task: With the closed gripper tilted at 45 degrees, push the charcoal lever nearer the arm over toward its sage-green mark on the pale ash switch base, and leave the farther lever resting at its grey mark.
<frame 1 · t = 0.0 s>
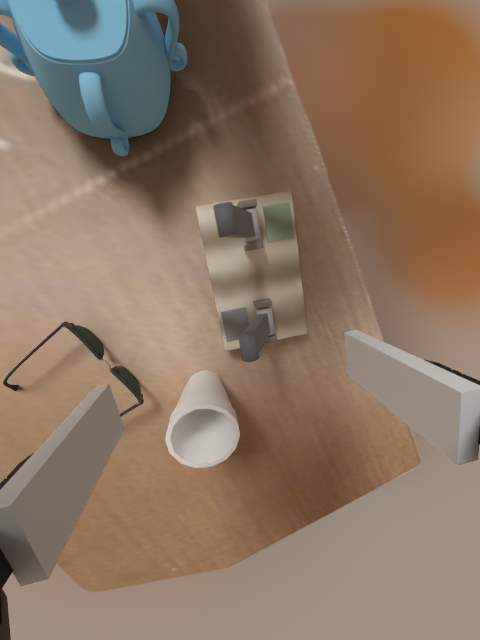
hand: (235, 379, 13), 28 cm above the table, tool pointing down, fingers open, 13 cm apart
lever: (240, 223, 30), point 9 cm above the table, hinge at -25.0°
switch base: (253, 274, 40), on the table
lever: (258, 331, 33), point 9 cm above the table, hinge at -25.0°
decorative pot: (116, 84, 32), on the table
foam cup: (204, 386, 44), on the table
sunglasses: (80, 380, 41), on the table
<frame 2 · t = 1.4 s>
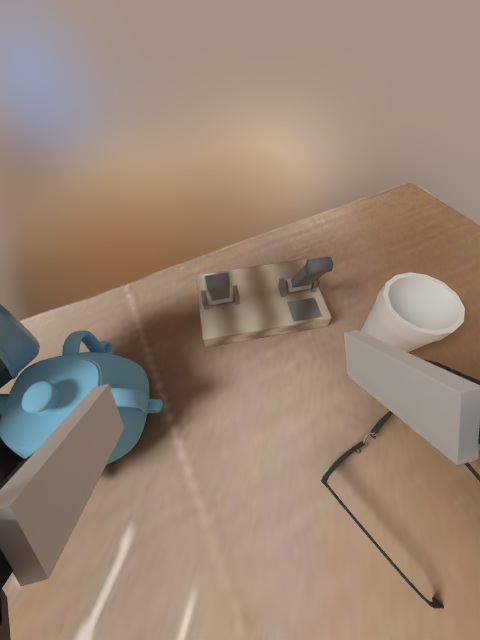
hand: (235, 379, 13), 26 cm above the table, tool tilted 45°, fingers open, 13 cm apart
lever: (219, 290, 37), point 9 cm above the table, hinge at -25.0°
switch base: (258, 304, 47), on the table
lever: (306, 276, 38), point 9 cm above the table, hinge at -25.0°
decorative pot: (107, 410, 37), on the table, touching arm
foam cup: (375, 345, 42), on the table
sunglasses: (402, 495, 32), on the table
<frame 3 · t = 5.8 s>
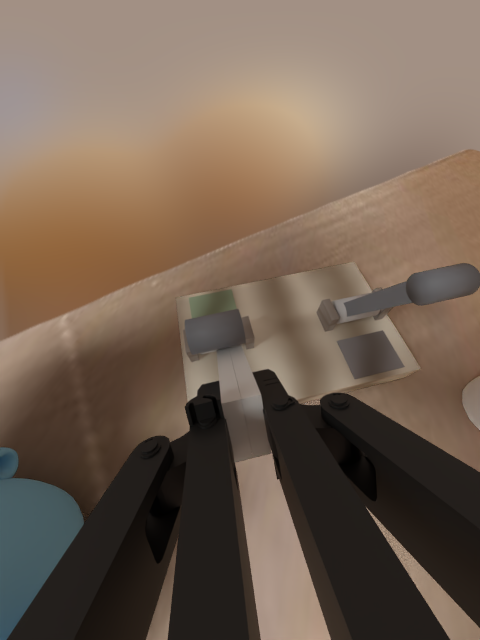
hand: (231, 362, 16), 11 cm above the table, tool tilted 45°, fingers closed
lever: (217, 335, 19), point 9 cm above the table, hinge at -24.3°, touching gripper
switch base: (282, 341, 28), on the table
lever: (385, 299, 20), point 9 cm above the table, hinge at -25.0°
decorative pot: (4, 592, 19), on the table
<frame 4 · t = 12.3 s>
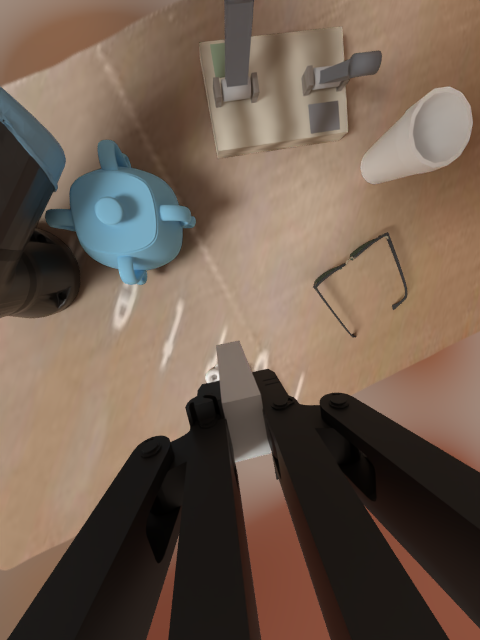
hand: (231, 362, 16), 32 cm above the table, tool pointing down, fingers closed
teacup and saucer: (224, 362, 51), on the table
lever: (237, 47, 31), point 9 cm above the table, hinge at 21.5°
switch base: (273, 102, 41), on the table
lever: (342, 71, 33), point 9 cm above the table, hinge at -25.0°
decorative pot: (139, 226, 43), on the table
foam cup: (375, 166, 45), on the table
sunglasses: (355, 291, 51), on the table
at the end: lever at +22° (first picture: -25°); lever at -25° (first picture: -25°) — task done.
